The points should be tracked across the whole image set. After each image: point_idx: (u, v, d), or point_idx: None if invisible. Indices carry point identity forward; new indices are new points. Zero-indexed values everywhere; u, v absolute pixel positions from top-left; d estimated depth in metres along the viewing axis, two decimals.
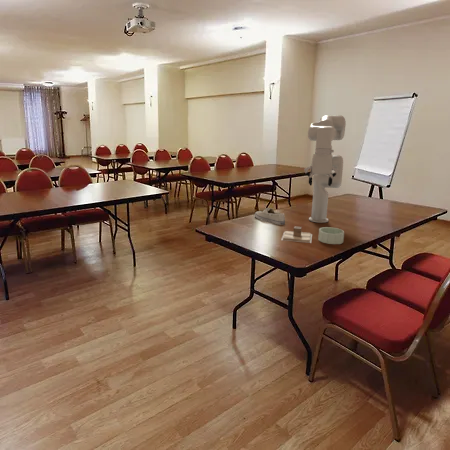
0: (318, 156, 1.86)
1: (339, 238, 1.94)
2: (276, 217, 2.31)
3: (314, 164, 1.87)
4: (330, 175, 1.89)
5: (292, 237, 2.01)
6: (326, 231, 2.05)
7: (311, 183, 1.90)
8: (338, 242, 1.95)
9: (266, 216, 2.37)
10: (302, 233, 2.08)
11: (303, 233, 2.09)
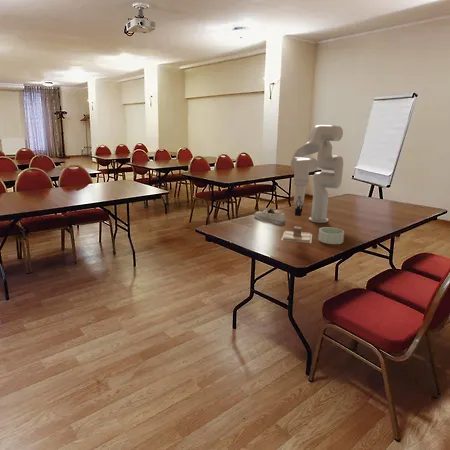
0: (304, 187, 1.94)
1: (339, 238, 1.94)
2: (276, 217, 2.31)
3: (303, 195, 1.94)
4: None
5: (292, 237, 2.01)
6: (326, 231, 2.05)
7: None
8: (338, 242, 1.95)
9: (266, 216, 2.37)
10: (302, 233, 2.08)
11: (303, 233, 2.09)
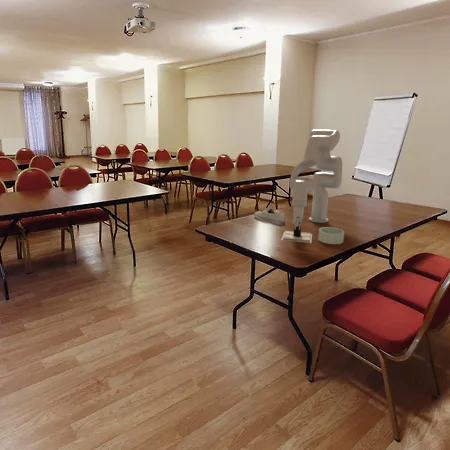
0: (303, 208, 1.97)
1: (339, 238, 1.94)
2: (276, 217, 2.31)
3: (302, 216, 1.97)
4: (300, 224, 2.05)
5: (292, 237, 2.01)
6: (326, 231, 2.05)
7: None
8: (338, 242, 1.95)
9: (266, 216, 2.37)
10: (302, 233, 2.08)
11: (303, 233, 2.09)
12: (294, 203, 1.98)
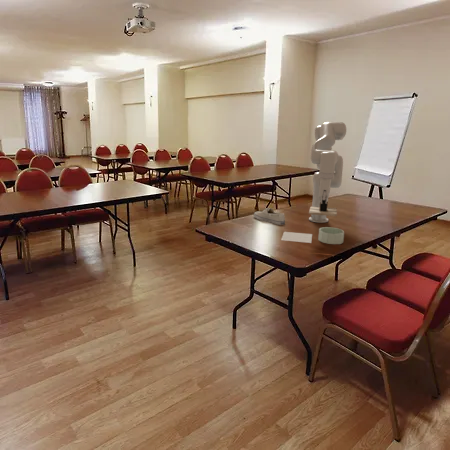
0: (330, 180, 1.90)
1: (339, 238, 1.94)
2: (276, 217, 2.31)
3: (329, 189, 1.90)
4: None
5: (318, 211, 1.94)
6: (326, 231, 2.05)
7: None
8: (338, 242, 1.95)
9: (266, 216, 2.37)
10: (328, 208, 2.01)
11: (329, 208, 2.02)
12: (321, 176, 1.90)
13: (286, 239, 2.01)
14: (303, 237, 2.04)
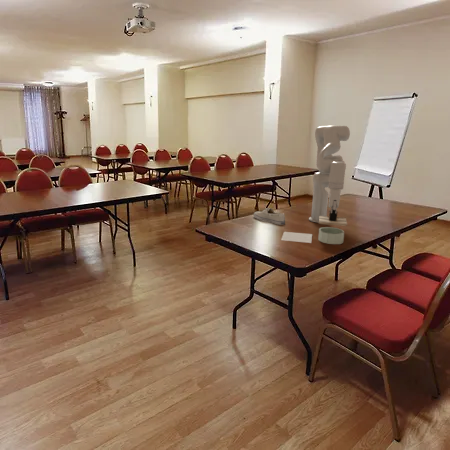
0: (340, 190, 1.90)
1: (339, 238, 1.94)
2: (276, 217, 2.31)
3: (339, 199, 1.90)
4: None
5: (328, 221, 1.93)
6: (326, 231, 2.05)
7: None
8: (338, 242, 1.95)
9: (266, 216, 2.37)
10: (337, 218, 2.01)
11: (338, 217, 2.02)
12: (331, 186, 1.90)
13: (286, 239, 2.01)
14: (303, 237, 2.04)
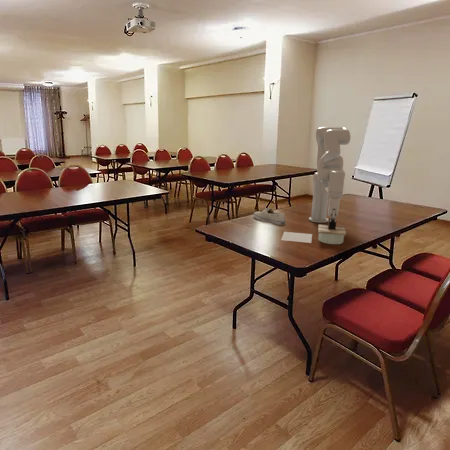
0: (339, 199, 1.91)
1: (339, 238, 1.94)
2: (276, 217, 2.31)
3: (338, 207, 1.91)
4: None
5: (327, 230, 1.95)
6: None
7: None
8: (338, 242, 1.95)
9: (266, 216, 2.37)
10: (336, 226, 2.02)
11: (337, 226, 2.03)
12: (330, 194, 1.92)
13: (286, 239, 2.01)
14: (303, 237, 2.04)
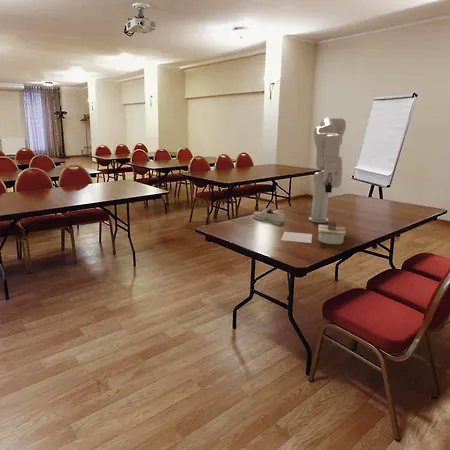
0: (335, 163, 1.93)
1: (339, 238, 1.94)
2: (275, 217, 2.31)
3: (334, 171, 1.93)
4: None
5: (327, 230, 1.95)
6: None
7: (331, 190, 1.95)
8: (338, 242, 1.95)
9: (265, 216, 2.36)
10: (336, 226, 2.02)
11: (337, 226, 2.03)
12: (326, 159, 1.93)
13: (286, 239, 2.01)
14: (303, 237, 2.04)
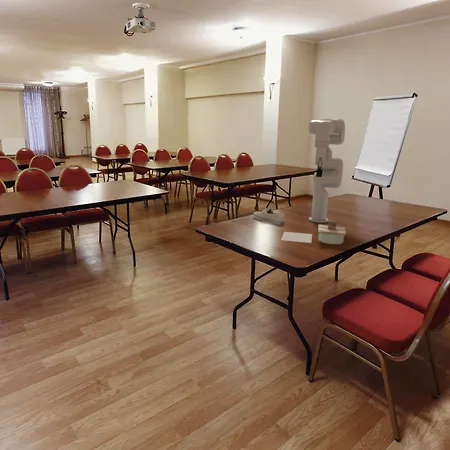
0: (325, 148, 2.00)
1: (339, 238, 1.94)
2: (276, 217, 2.31)
3: (324, 156, 1.99)
4: None
5: (327, 230, 1.95)
6: None
7: (322, 174, 2.02)
8: (338, 242, 1.95)
9: (265, 216, 2.36)
10: (336, 226, 2.02)
11: (337, 226, 2.03)
12: (317, 144, 2.00)
13: (286, 239, 2.01)
14: (303, 237, 2.04)
